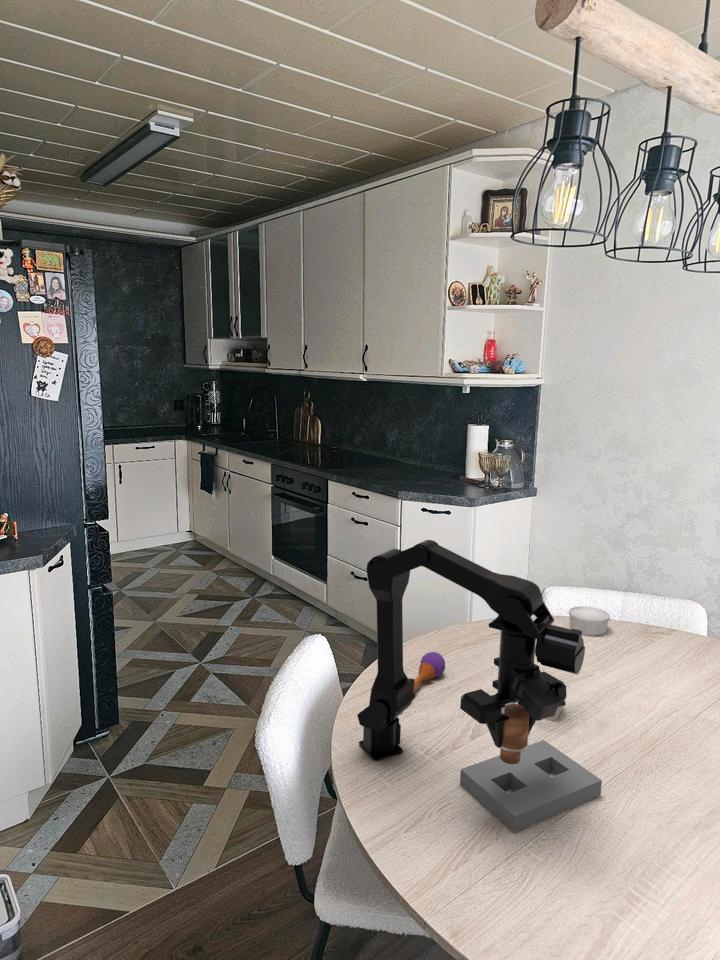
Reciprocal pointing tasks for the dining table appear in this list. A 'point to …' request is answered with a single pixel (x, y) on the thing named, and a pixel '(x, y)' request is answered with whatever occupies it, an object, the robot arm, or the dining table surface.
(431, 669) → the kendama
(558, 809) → the charcoal board
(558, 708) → the architectural model
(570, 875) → the dining table surface
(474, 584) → the robot arm
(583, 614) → the ramekin
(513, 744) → the mahogany dowel
